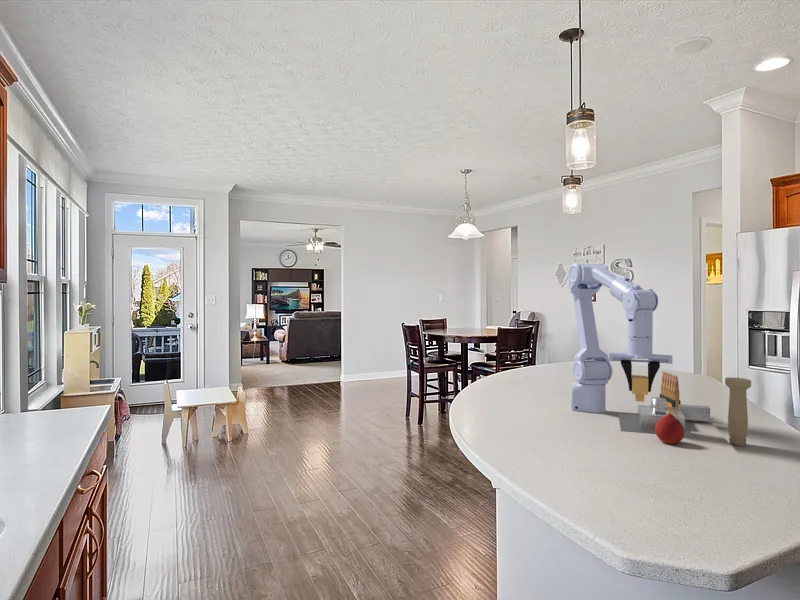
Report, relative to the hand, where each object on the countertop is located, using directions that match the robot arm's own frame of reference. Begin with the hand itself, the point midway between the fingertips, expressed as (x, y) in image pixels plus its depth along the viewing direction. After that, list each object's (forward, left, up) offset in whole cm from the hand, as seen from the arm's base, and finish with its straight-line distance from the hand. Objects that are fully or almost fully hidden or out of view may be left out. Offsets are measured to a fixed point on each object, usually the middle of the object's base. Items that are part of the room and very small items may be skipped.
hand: (639, 390), depth 133 cm
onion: (+6, -12, -11) cm, 17 cm away
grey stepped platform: (+6, +5, -10) cm, 13 cm away
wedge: (0, 0, -2) cm, 2 cm away
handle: (+21, -4, -11) cm, 23 cm away
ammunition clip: (+10, +25, -11) cm, 29 cm away
